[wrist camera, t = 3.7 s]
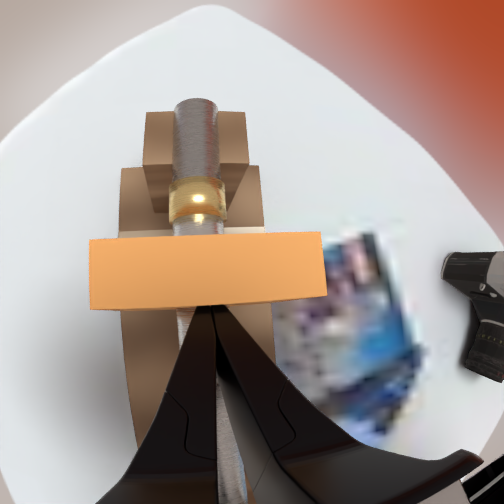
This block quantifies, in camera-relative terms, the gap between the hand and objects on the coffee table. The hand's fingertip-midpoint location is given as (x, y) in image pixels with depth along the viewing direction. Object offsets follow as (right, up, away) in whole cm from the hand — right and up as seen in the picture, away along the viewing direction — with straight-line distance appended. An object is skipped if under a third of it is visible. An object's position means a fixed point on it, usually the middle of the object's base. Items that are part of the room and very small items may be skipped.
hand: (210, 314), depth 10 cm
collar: (-2, 0, +7) cm, 7 cm away
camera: (+24, -6, +17) cm, 30 cm away
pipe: (-1, -3, +4) cm, 5 cm away
